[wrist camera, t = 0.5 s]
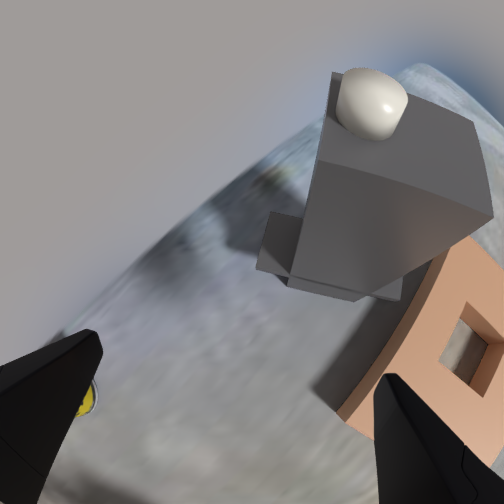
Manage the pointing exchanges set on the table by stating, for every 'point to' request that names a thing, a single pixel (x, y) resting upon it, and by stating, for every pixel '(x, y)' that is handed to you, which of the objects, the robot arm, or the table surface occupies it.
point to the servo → (379, 192)
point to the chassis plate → (433, 343)
